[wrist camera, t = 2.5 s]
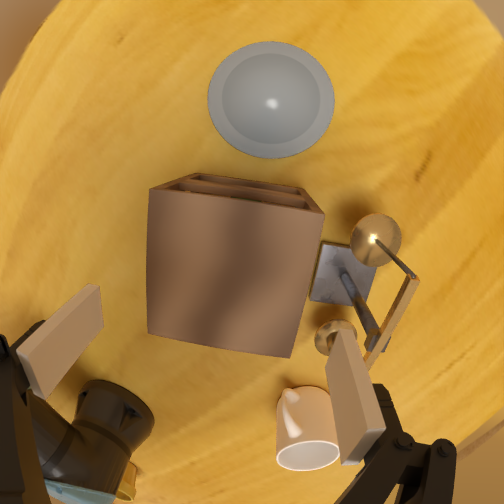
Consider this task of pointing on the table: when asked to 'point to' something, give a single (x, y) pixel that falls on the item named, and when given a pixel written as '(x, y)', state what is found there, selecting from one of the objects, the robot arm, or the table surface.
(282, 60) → the dish
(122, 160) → the table surface
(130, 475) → the plant pot
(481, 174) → the table surface
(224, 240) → the crate
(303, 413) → the mug
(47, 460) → the robot arm
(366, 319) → the balance
